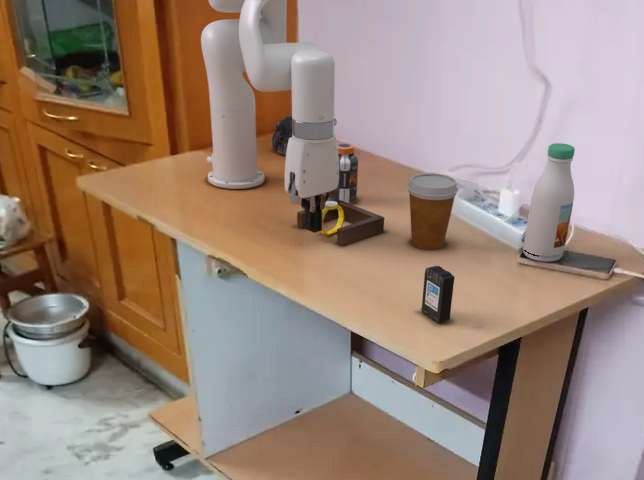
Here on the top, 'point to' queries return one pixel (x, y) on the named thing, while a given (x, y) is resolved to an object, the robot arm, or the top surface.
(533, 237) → the milk bottle
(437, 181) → the disposable coffee cup
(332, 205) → the watch
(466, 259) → the top surface
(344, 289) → the top surface
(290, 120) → the crystal cluster
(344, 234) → the bay
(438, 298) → the ink cartridge
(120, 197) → the top surface
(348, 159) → the pill bottle
